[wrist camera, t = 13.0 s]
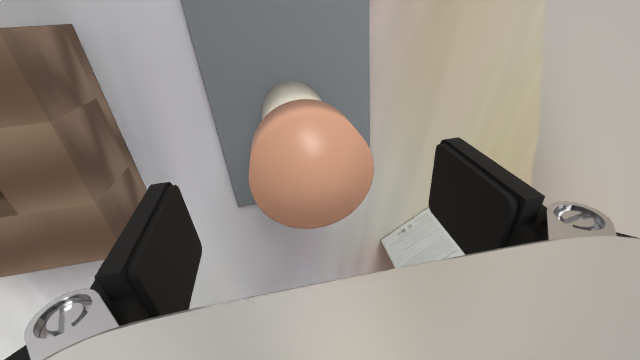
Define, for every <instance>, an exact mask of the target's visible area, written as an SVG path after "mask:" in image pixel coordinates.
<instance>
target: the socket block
mask: <svg viewBox="0 0 640 360" xmlns="http://www.w3.org/2000/svg"><path fill="white" fill-rule="evenodd" d="M146 191H147V190H146V188H145V186H144V183H143V181H142V179H141V177H140V174H139V172H138V170H137V168H136V166H135V163H134V161H133V159H132V157H131V154H130V152H129V150H128V148H127V146H126V143H125V141H124V139H123V137H122V135H121V132H120V130H119V128H118V126H117V123H116V121H115V119H114V117H113V115H112V112H111V110H110V108H109V106H108V103H107V101H106V99H105V97H104V95H103V92H102V90H101V88H100V86H99V83H98V81H97V79H96V77H95V75H94V72H93V70H92V68H91V66H90V63H89V61H88V59H87V57H86V55H85V52H84V50H83V48H82V46H81V44H80V41H79V39H78V37H77V35H76V32H75V30H74V28H73V26H72V24H64V25H47V26H29V27H11V28H0V277H5V276H10V275H16V274H22V273H28V272H34V271H40V270H46V269H52V268H57V267H63V266H69V265H75V264H81V263H87V262H93V261H98V260H104V259H106V257H107V256H108V254H109V252H110V251H111V249H112V247H113V246H114V244H115V243H116V241H117V239H118V238H119V236H120V234H121V233H122V231H123V229H124V228H125V226H126V224H127V223H128V221H129V219H130V218H131V216H132V214H133V213H134V211H135V210H136V208H137V206H138V205H139V203H140V201H141V200H142V198H143V196H144V195H145V193H146Z"/></svg>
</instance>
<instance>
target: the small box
mask: <svg viewBox="0 0 640 360" xmlns="http://www.w3.org/2000/svg"><path fill="white" fill-rule="evenodd" d="M381 242H382V244H383V246H384V248H385V250H386V252H387V254H388V256H389V258H390V260H391V262H392V264H393V266H394V268H399V267H404V266H409V265H415V264H420V263H425V262H430V261H436V260H441V259H446V258H452V257H457V256H462V255H465V254H464V253H463V251H462V250H461V249H460V248H459V246H458V245H457V244H456V243H455V241H454V240H453V239H452V238H451V236H450V235H449V234H448V233H447V231H446V230H445V229H444V228H443V226H442V225H441V224H440V223H439V221H438V220H437V219H436V218H435V217H434V215H433V214H432V213H431V211H430V209H429V208H427V209H426V210H424V211H423V212H421V213H420V214H418V215H417V216H415V217H414V218H412V219H411V220H410V221H408V222H407V223H405V224H404V225H402V226H401V227H399V228H398V229H396V230H395V231H394V232H392V233H391V234H389V235H388V236H386V237H385V238H384V239H382V240H381Z"/></svg>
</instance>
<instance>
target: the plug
mask: <svg viewBox="0 0 640 360" xmlns="http://www.w3.org/2000/svg"><path fill="white" fill-rule="evenodd" d="M373 171H374V166H373V158H372V154H371V151H370V149H369V147H368V145H367V143H366V141H365V140H364V139H363V137H362V136H361V135H360V134H359V132H358V131H357V130H356V129H355V128H354V126H353V125H352V124H351V123H350V122H349V121H348V119H347V118H346V117H345V116H344V115H343V114H342V113H341V112H340V111H339V110H338V109H336V108H335V107H333V106H331V105H330V104H328V103H325V102H323V101H322V100H321V99H320V97H319V96H318V95H317V93H316V92H315V91H314V90H313V89H312V88H311V87H310V86H309V85H307V84H305V83H303V82H299V81H284V82H281V83H279V84H277V85H275V86H274V87H273V88H272V89H270V91H269V92H268V93H267V95H266V96H265V98H264V101H263V105H262V121H261V122H260V124H259V125H258V127H257V129H256V131H255V133H254V136H253V139H252V145H251V155H250V166H249V185H250V190H251V193H252V195H253V198H254V200H255V202H256V203H257V205H258V206H259V207H260V208H261V210H262V211H263V212H264V213H265V214H267V215H268V216H269V217H270V218H272V219H273V220H275V221H277V222H279V223H281V224H283V225H286V226H290V227H294V228H302V229H312V228H319V227H324V226H327V225H330V224H333V223H335V222H338V221H340V220H341V219H343V218H345V217H346V216H348V215H349V214H350V213H352V212H353V211H354V210H355V209H356V208H357V207H358V206H359V205H360V204H361V202H362V201H363V200H364V198H365V197H366V195H367V193H368V191H369V189H370V186H371V183H372V179H373Z"/></svg>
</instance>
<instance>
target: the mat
mask: <svg viewBox="0 0 640 360" xmlns="http://www.w3.org/2000/svg"><path fill="white" fill-rule="evenodd" d="M181 2H182V6H183V10H184V13H185V17H186V20H187V24H188V28H189V31H190V35H191V39H192V42H193V46H194V49H195V53H196V57H197V60H198V64H199V67H200V71H201V75H202V78H203V82H204V85H205V89H206V93H207V96H208V100H209V104H210V107H211V111H212V114H213V118H214V122H215V125H216V129H217V132H218V136H219V140H220V143H221V147H222V150H223V154H224V158H225V161H226V165H227V168H228V172H229V176H230V179H231V183H232V187H233V190H234V194H235V197H236V201H237V205H238V207H241V206H247V205H254V204H257V203H256V202H255V200H254V198H253V195H252V193H251V190H250V185H249V166H250V155H251V145H252V139H253V136H254V133H255V131H256V129H257V127H258V125H259V124H260V122H261V121H262V105H263V101H264V98H265V96H266V95H267V93H268V92H269V91H270V89H272V88H273V87H274V86H275V85H277V84H279V83H281V82H284V81H299V82H303V83H305V84H307V85H309V86H310V87H311V88H312V89H313V90H314V91H315V92H316V93H317V95H318V96H319V97H320V99H321V100H322V101H323V102H325V103H328V104H330V105H331V106H333V107H335V108H336V109H338V110H339V111H340V112H341V113H342V114H343V115H344V116H345V117H346V118H347V119H348V121H349V122H350V123H351V124H352V125H353V126H354V128H355V129H356V130H357V131H358V132H359V134H360V135H361V136H362V137H363V139H364V140H365V141H366V143H367V145H368V147H369V149H370V113H369V0H181Z"/></svg>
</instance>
